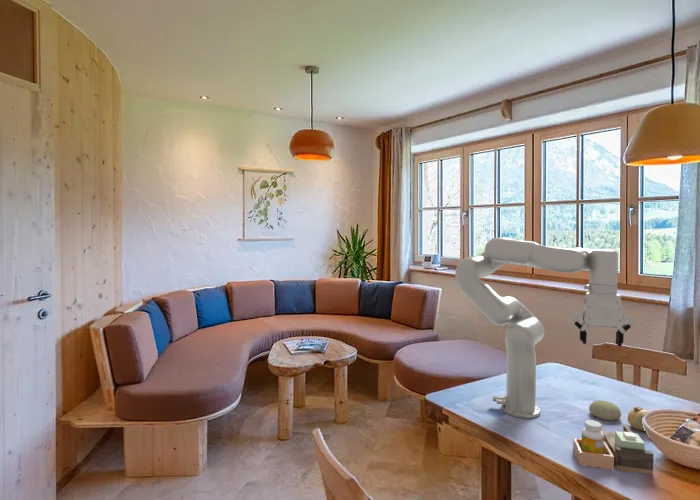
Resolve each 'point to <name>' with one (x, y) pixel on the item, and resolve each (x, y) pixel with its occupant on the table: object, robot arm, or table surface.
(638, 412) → the onion
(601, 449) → the supplement bottle
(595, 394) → the table surface
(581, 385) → the table surface
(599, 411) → the sea urchin shell
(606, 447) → the holder
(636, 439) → the block
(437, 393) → the table surface
